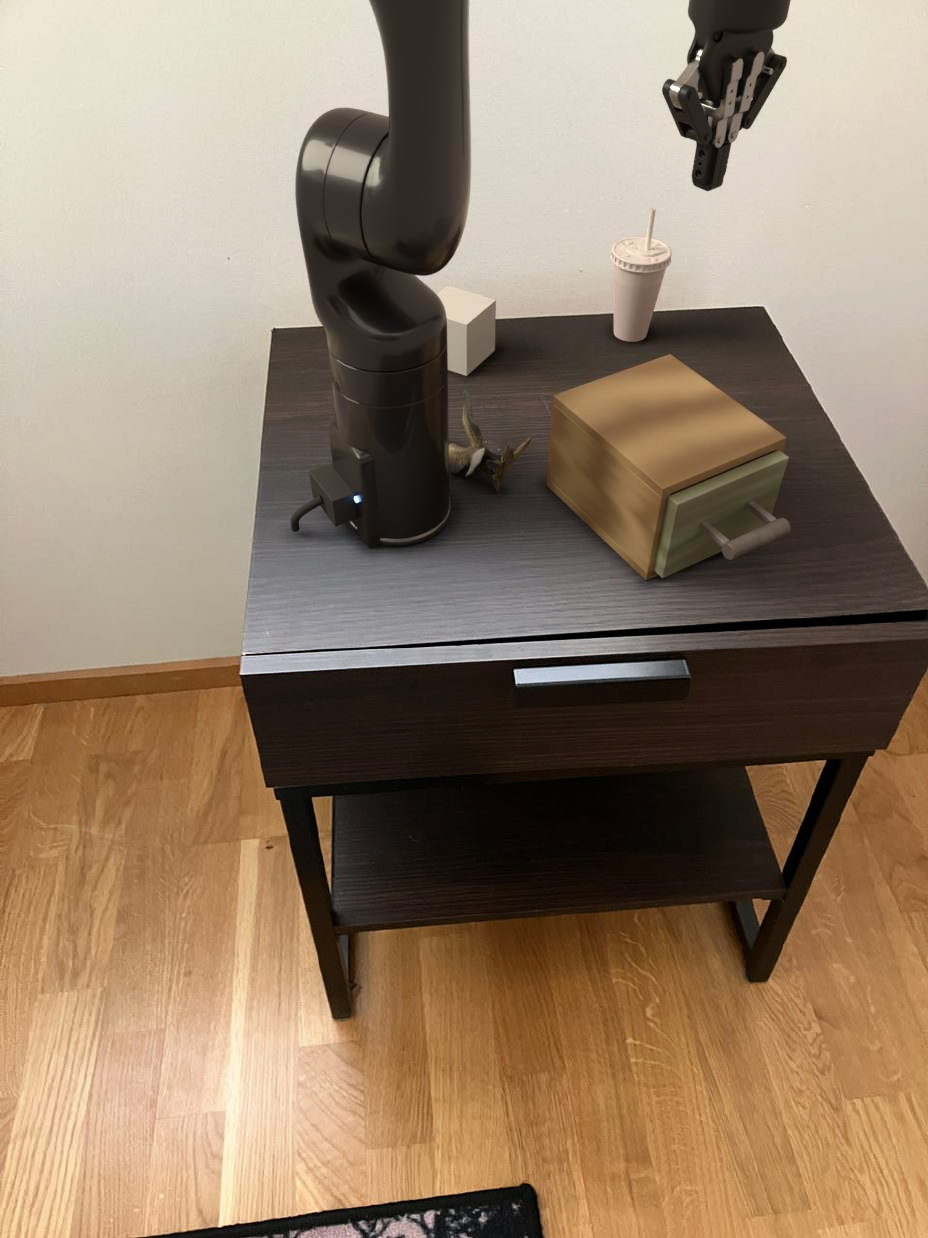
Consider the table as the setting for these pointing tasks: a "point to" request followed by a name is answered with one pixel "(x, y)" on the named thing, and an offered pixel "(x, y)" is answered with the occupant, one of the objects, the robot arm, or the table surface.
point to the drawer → (723, 515)
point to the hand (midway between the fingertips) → (706, 186)
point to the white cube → (468, 328)
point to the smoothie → (637, 282)
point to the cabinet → (645, 449)
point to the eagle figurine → (480, 450)
